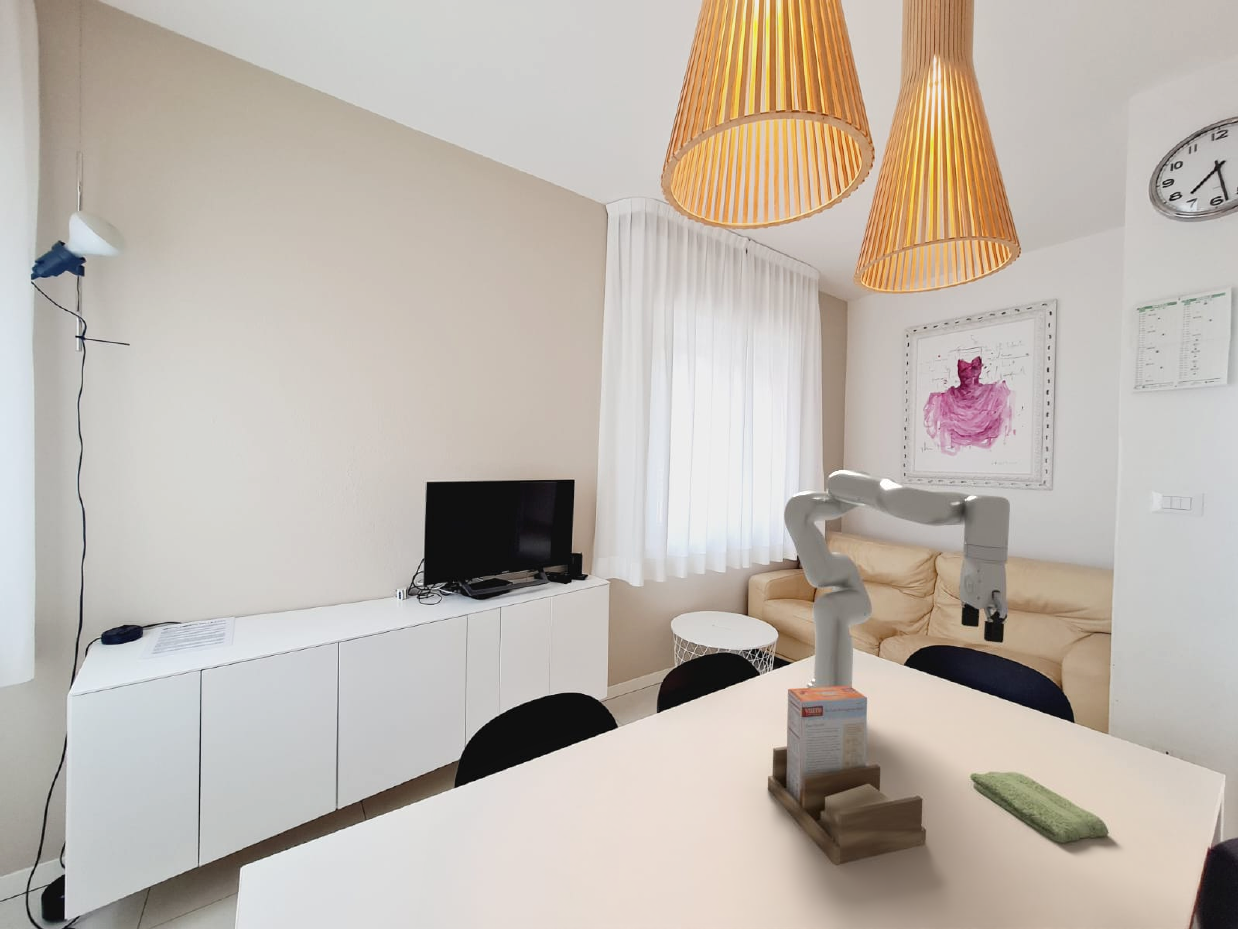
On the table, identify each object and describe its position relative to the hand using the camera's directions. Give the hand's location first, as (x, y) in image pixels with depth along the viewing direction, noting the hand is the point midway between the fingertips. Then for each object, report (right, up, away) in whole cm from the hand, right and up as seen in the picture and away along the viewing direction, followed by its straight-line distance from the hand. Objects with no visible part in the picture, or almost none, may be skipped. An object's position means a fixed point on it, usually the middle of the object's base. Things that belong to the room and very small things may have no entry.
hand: (981, 633), depth 103 cm
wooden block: (-34, -30, -16) cm, 48 cm away
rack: (-36, -30, -11) cm, 48 cm away
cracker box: (-37, -30, -8) cm, 48 cm away
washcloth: (+4, -32, -8) cm, 33 cm away
